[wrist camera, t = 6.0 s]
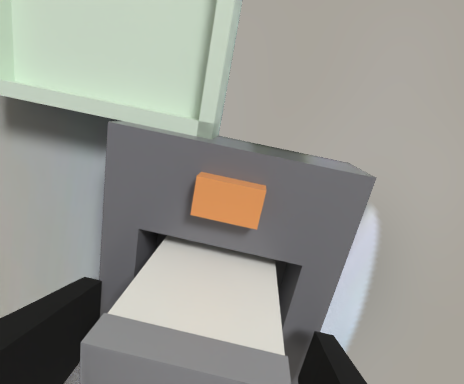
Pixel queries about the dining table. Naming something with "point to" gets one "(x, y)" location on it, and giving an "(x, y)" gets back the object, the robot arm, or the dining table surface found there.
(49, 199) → the dining table surface
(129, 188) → the power strip
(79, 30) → the tray
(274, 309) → the plug
